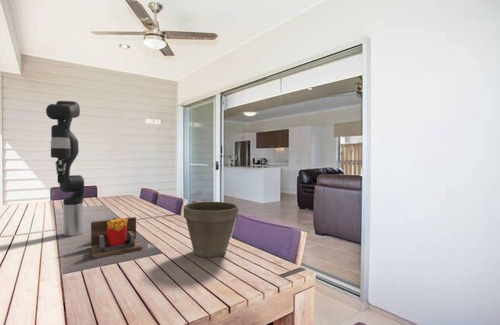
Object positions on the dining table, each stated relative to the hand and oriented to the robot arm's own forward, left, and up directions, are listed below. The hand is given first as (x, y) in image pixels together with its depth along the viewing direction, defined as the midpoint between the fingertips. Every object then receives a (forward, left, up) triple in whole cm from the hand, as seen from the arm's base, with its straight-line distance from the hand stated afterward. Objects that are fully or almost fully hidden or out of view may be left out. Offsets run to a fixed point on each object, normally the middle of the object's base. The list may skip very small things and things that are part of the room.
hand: (60, 182), depth 127 cm
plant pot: (+41, +58, -32) cm, 78 cm away
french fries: (+15, +22, -31) cm, 40 cm away
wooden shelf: (+12, +22, -32) cm, 40 cm away
